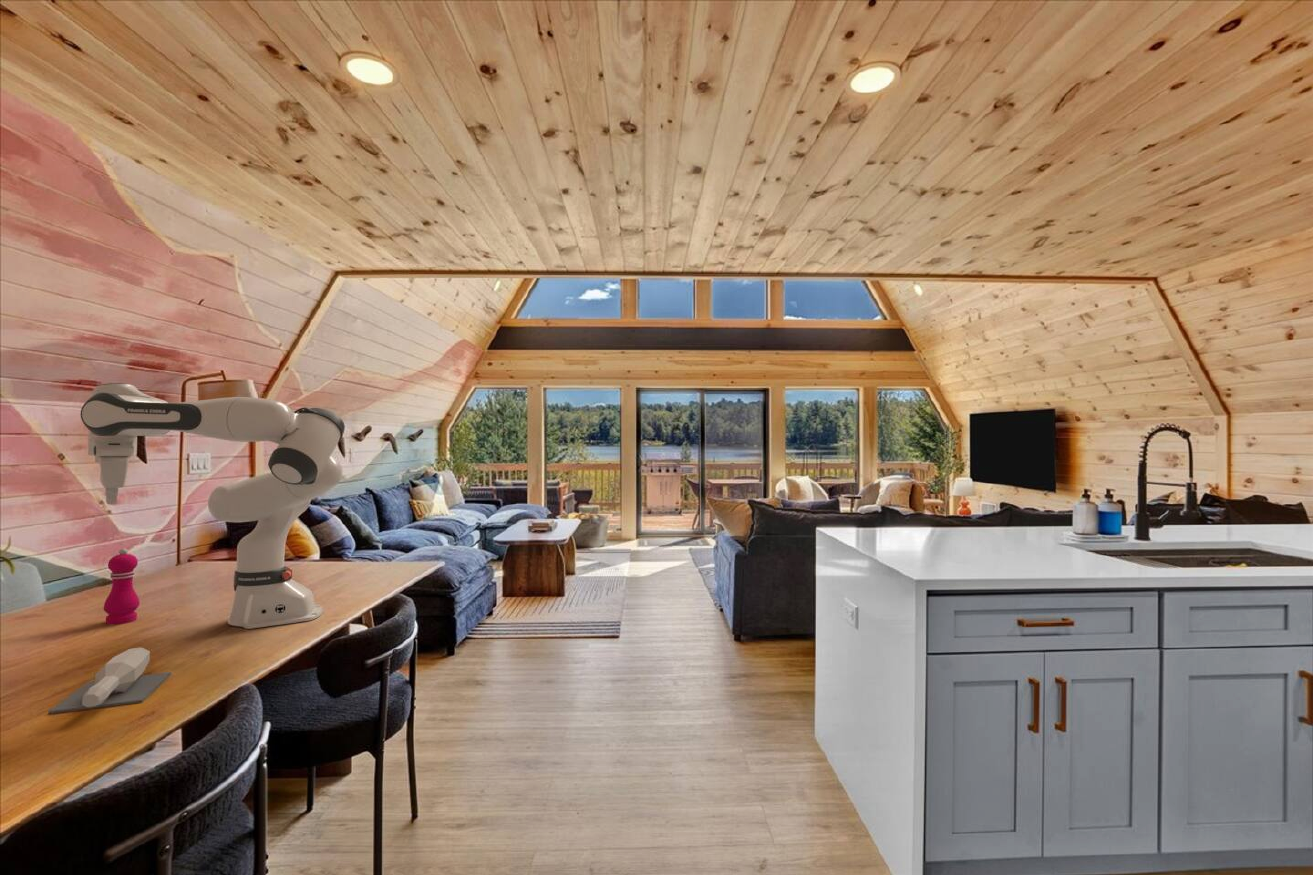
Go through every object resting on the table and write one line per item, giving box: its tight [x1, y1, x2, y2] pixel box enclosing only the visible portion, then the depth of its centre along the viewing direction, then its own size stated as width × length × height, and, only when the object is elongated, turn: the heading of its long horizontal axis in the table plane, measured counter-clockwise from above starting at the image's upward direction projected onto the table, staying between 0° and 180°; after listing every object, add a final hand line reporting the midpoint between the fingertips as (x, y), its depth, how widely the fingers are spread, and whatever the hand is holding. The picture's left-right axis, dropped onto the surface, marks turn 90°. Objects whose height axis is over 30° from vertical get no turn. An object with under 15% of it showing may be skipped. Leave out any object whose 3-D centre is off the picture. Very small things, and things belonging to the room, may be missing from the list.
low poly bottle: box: [82, 647, 151, 707], centre depth 112 cm, size 6×6×22 cm
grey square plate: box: [48, 671, 172, 715], centre depth 113 cm, size 14×14×1 cm
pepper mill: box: [103, 548, 141, 626], centre depth 156 cm, size 7×7×20 cm
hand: (111, 503), depth 141 cm, fingers closed
